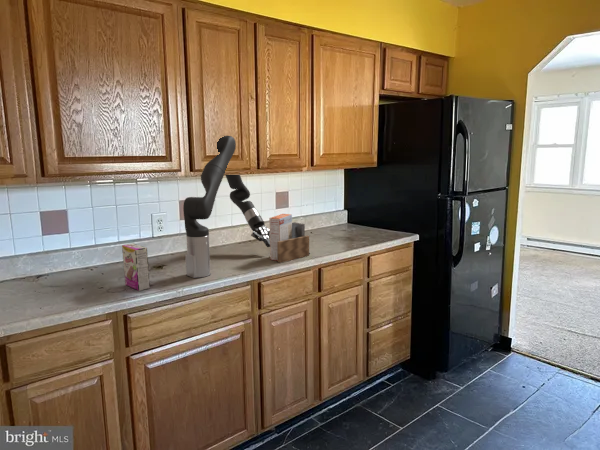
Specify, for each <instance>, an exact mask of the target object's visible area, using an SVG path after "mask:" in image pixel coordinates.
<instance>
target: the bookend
mask: <svg viewBox="0 0 600 450" xmlns="http://www.w3.org/2000/svg"><path fill="white" fill-rule="evenodd" d="M305 227H306V226H305V223H302V222H301V223H300V222H292V239H293V238H298V237H302V236H306V234H305ZM310 254H311V253H310V252H309V255H310Z"/></svg>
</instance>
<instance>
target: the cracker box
mask: <svg viewBox="0 0 600 450" xmlns="http://www.w3.org/2000/svg"><path fill="white" fill-rule="evenodd" d="M292 223H293V215H292V214H291V213H280V214H278V215H274V216H272V217H269V229H270V239H269V240H270V247H269V249H270V250H269V251H270V260H271V261H277V262H278V253H277V242H278V241H283V240H288V239H292Z"/></svg>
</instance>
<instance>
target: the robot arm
mask: <svg viewBox="0 0 600 450" xmlns="http://www.w3.org/2000/svg"><path fill="white" fill-rule="evenodd" d="M223 136H224V137H222V138H220V139H219V141H218V142H217V149H218V152H220V154H219V155H217V156H216V157H215V156H214V157H212V159H211V160H209V161H208V162H207V163H206V164H205V165H204V167H203V170H202V172H201V175H200V181H201V184H202V187H203V188H204V191H205V193H204V194H205V195H204V196H201V197H200V196H189V197H186V198H185V199H184V201H183V207H182V209H183V218H184V229H185V233H186V253H185V254H184V256H185V273H186V276H187V277H191V278H193V279H196V278H204V277H208V276H210V275H211V255H210V254H211V253H210V252H211V251H210V232H209V228H208V227H207V226H205V225H203V224H201V223H199V222H198V220H209V218H210V217H211V215H212V212H213V209H214V205H215V201H216V197H217V195H218V194H217V193H218V191H219V188H220V187H221V186H220V185H221V184H222V181H223V178H224V176H225V178H226V181H227V184H228V185H229V188H230V189H232V190H231V191H230V192H229V199H230V201H232V203H233V204H234V205H236V206H237V207H238V208H239V210H240V211H241V213H242V214H243V216H244V218H245V220H246V223H247V225H248V226H249V228H250V230H252V232H251V234H250V236H251V237H253V238H254V239H255V240H257V241H259V242H263V243H264V245H265V246H266V247H267V248H270V228H268V226H266V225H265V221H264V219H263V218H262V216H261V214H260V212H259V211H258V210H257V209H256V207H255V205H254V204H253V202H252V201H251V200H248V199H249V198H251V197H250V196H251V191H249V189H248V187H247V186H246V185H245V184H244V181H243V179H242V177H241V174H240V175H225V170H226V168H227V165H228V163H229V162H230V161H231V159H232V157H233V156H234V154H235V150H236V145H237V143H236V140H235V138H234V137H233V136H231V135H223Z"/></svg>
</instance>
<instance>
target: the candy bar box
mask: <svg viewBox="0 0 600 450" xmlns="http://www.w3.org/2000/svg"><path fill="white" fill-rule="evenodd" d="M121 248H122V249H121V250H122V260H123V261H122V262H123V272H124V283H125V286H127V287H129V288H131V289H134V290H136V291H138V292H140V291H145V290H148V289H150V288H151V286H150V285H151V284H150V271H149V258H148V257H149V255H148V247H145V246H142V245H139V244H137V243H133V242H132V243H127V244H123V245H121Z"/></svg>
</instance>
